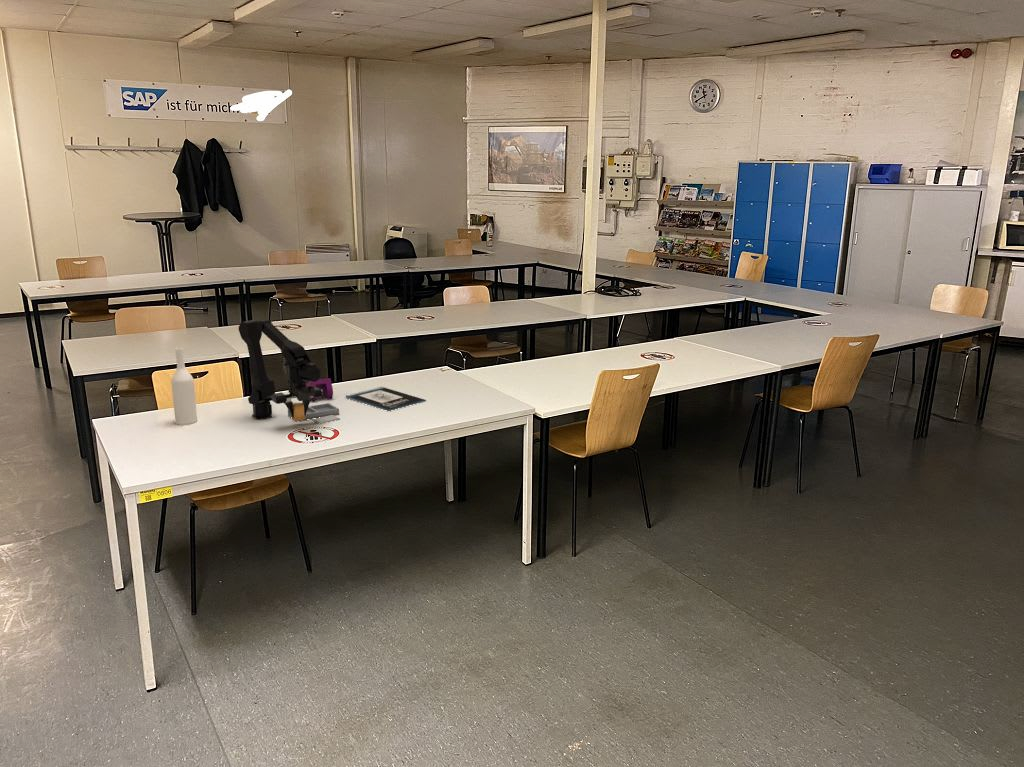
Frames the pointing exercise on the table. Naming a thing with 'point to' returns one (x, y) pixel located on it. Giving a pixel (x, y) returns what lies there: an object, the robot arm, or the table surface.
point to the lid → (326, 419)
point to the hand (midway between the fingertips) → (298, 416)
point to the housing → (320, 411)
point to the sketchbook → (385, 398)
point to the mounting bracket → (323, 387)
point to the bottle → (183, 393)
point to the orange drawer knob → (298, 412)
